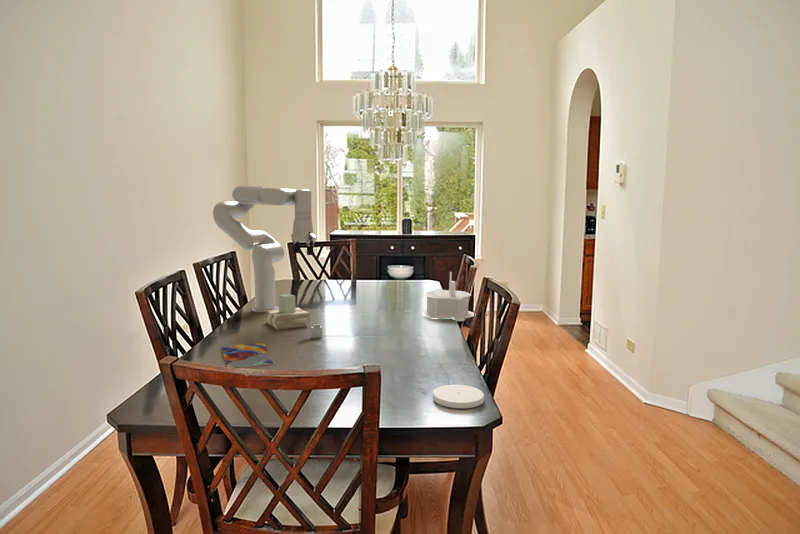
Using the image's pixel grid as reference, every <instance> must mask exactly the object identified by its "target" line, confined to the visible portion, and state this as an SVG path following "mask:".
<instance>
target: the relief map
mask: <svg viewBox="0 0 800 534" xmlns="http://www.w3.org/2000/svg"><path fill="white" fill-rule="evenodd" d="M221 351H222V354H223V359H224V363H225V367H226V366H227V365H233V366H230V367H240V368H239V369H241V368H250V367H260V366H261V367H262V366H269V365H276V362H275V361H274V359H273V357H272V355H271V353H270V351H269V348H268V347H267V345H266V343H265V342H258V343H242V344H241V343H240V344H237V345H231V346H221Z"/></svg>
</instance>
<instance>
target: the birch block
mask: <svg viewBox="0 0 800 534" xmlns="http://www.w3.org/2000/svg"><path fill="white" fill-rule="evenodd" d="M305 318H307V320H308V322H309V324H310V325H311V323H310V312H308V311H306V310H304V309H302V308H301V307H298V306H297V307H296V306H295V312H291V313H282V312H279V309H276V310H267V312H266V323H267V324H269V325H270V326H272V327H273V328H274V329H276V330H283V329H284V330H285V329H294V328H301V327H307V326H306V324H305V322H304V320H303V319H305Z"/></svg>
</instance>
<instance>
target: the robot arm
mask: <svg viewBox="0 0 800 534" xmlns="http://www.w3.org/2000/svg"><path fill="white" fill-rule="evenodd" d="M231 196H232V198H233V200H231V201H230V200H226V201H225V200H223V201H220V202H218V203H216V204H215V205H214V206H213V210H212V216H213V220H214V222H215V225H216V226H217V227H218V228H219V230H221V231H222V232H224V233H225V234H227V236H229V237H230V238H231V239H232V240H233V241H234V242H235V243H237V245H238V246H240V247H241V248H242V249H243V250H245V251H251V261H252V265H253V275H254V300H253V301H252V304H254V306H253V307H252V308H251V311H252V312H255V313H267V310H276V309H279V305H276V273H275V269H274V265H273V263H274V264H275V263H278V262H281V261H282V260H284V259H283V258H284V257H285V249H284V247H283V246H282V245H281V244H280V242H278V241H277V240H276V239H275V238H274V237H273V236H271V235H270V234H269V233H267V232H266V231H265V230H261V229H250V228H248V227H246V225H244V223H242V222H241V221H239V220H237V219H240V218H243V217H245V216H246V215H247V214H248V213H249V211H252V209H253V208H254V207H255V205H258V206H259V205H261V206H262V205H263V206H264V205H266V206H267V205H268V206H294V219H293V226H292V234H291V235H290V236H291V241H292V244H293V253H294V254H301V244H300V243H306V245H307V246H306V255H307V256H313V255H314V246H315V243H316V239H317V237H316V235H315V234H314V228H313V221H312V215H313V214H312V192H311V190H310V189H306V188H300V189H295V188H278V187H277V188H272V187H265V186H261V185H260V186H259V185H238V186H235V188H233V190H232V193H231Z"/></svg>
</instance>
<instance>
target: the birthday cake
mask: <svg viewBox="0 0 800 534" xmlns="http://www.w3.org/2000/svg"><path fill="white" fill-rule="evenodd" d="M452 275H453V272H452V271H449V281H448V282H449V283H448V285H449V286H448V289H434V290H432V291H427V292H426V293H424V294H423V296H425V297H426V311H422V312H423V313H422V315H423V316H425V317H429V318H438V319H441V318H451V317H454V318H455V320H456V321H455V322H464V321H466V319H469V318H473V317H475V316H474V313H475V312H473V311H469V297H471V296H472V294H471V293H469V292H467V291H464V290H456V281H455V280H453V279H452V278H453V277H452ZM467 303H468V304H467ZM466 307H468V308H466ZM465 312H466V313H465ZM464 318H465V319H464Z"/></svg>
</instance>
